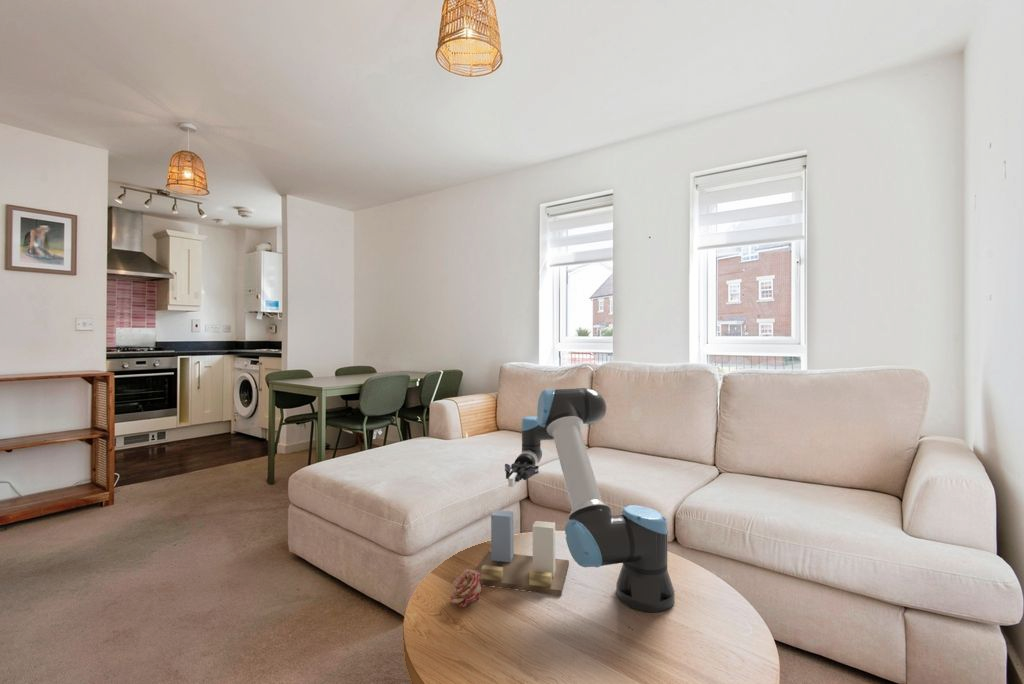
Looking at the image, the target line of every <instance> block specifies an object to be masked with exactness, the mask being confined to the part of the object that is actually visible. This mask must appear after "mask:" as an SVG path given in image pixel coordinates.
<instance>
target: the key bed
mask: <svg viewBox="0 0 1024 684" xmlns="http://www.w3.org/2000/svg"><path fill="white" fill-rule="evenodd" d="M569 566H570V560H569V559H560V558H556V570H555V574H554V577H552V573H548V572H539V571H533V555H526V554H525V555H524V554H517V553H514V557H513V559H512V561H511V563H510V562H501V561H493V560H492V556H491V550H490V551H487V552H486V554H485V555H484V557H483V558H482V560H481V561H480V564H478V566H477V567H476V569H475V571H477V570H478V571H477V572H479V573H480V575H481V576H480V577H481V578H480V582H481V584H482V585H485V586H484V587H490V586H495V587H494V588H497V587H502V588H501V589H505V588H510V589H509V590H513V589H518V590H517V591H521V590H525V591H524V592H528V591H531V593H536V592H537V593H538V594H546V595H554V596H562V594H563V591H564V587H565V582H566V577H567V574H568V571H569ZM482 579H483V581H482Z"/></svg>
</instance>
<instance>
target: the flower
mask: <svg viewBox="0 0 1024 684" xmlns="http://www.w3.org/2000/svg"><path fill="white" fill-rule="evenodd" d="M477 571H478V570H477ZM477 571H476V570H473V569H469V568H465V569H464V570H463V571H462V573H460V574H459V575H457V577H456V578H455V579H453V581H452V582H451V588H452V590H451V594H450V595H449V598H450V602H451V603H452V604H459V603H460V604H459V605H458V607H459V608H460V607H461V608H463V607H465V606H467V605H469V603H470V602H472V601H474V600H476V601H478V600H479V599H480V594H481V591H482V589H483V586H482V584H481V582H480V578H481V577H480V576H481V575H480V573H479V572H477ZM482 581H483V579H482ZM463 601H464V602H463ZM461 602H462V603H461Z"/></svg>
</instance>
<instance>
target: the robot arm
mask: <svg viewBox="0 0 1024 684" xmlns="http://www.w3.org/2000/svg"><path fill="white" fill-rule="evenodd" d="M606 412H607V402H606V401H605V399H604V397H603V396H602V395H601V394H600V393H599V392H598V391H596V390H594V389H592V388H587V387H586V388H585V387H581V388H560V389H559V388H558V389H555V388H552V389H545V390H543V391H541V392H540V394H539V397H538V401H537V410H536V416H534V415H533V416H532V415H530V416H524V417H523V418H522V420H521V429H520V430H521V453H520V454H519V455H518V456H517V457H516V459H515V460H514V462H513V463H511V464H508V463H504V471H505V479H507V482H508V487H509V488H510V487H511V488H513V487H514V486H515V485H516V483H517V482H518V483H519V482H520V481H522V480H523V481H526V480H528V479H530V478H532V477H533V476H535V475H538V474H539V469H540V468H539V465H538V464H539V463H540V462H541V459H542V457H543V451H542V449H541V444H542V443H541V441H551V440H554V443H555V444H554V445H555V447H556V453H557V456H558V459H559V460H558V461H559V463H560V466H561V471H562V476H563V480H564V482H565V486H566V491H567V493H568V498H569V502H570V506H571V511H570V513H569V515H568V521H567V522H566V524H565V527H564V534H565V541H566V545H567V547H568V551H569V553H570V555H571V557H572V559H573V561H575V563H576V564H577V565H578V566H580V567H582V568H600V567H603V566H611V565H617V564H622V565H621V569H620V572H619V574H618V578H617V580H616V583H615V584H616V585H615V587H616V589H615V592H616V593H615V594H616V596H617V598H618V599H619V600H620V602H621V603H623V604H625V605H626V606H627V607H629V608H632V609H634V610H637V611H640V610H641V611H642V612H645V611H646V612H647V613H659V612H665V611H667V610H669V609H670V608H672V607H673V605H675V600H676V599H675V598H676V597H675V588H674V586H673V582H672V579H671V576H670V574H669V570H668V535H669V530H668V529H669V528H668V523H667V522H668V521H667V518H666V516H665V515H664V514H663V513H661V512H660V511H658V510H655V509H653V508H650V507H647V506H643V505H635V504H634V505H633V504H631V505H626V506H624V507H622V510H621V514H618V515H613V513H612V511H611V508H610V506H609V505H608V504H606V503H605V502H603V500H602V497H601V493H600V489H599V487H598V484H597V480H596V476H595V474H594V470H593V466H592V464H591V462H590V458H589V457H590V456H589V455H588V451H587V447H586V445H585V440H584V438H583V434H582V431H581V429H583V428H585V427H586V426H587V425H589V426H590V425H591V426H593V425H595V424H597V423H599V422H600V421H601V420H602V419H604V418H605V415H606ZM641 611H640V612H641ZM646 612H645V613H646Z"/></svg>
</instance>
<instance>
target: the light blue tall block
mask: <svg viewBox="0 0 1024 684" xmlns="http://www.w3.org/2000/svg"><path fill="white" fill-rule="evenodd" d="M490 523H491V524H490V528H491V529H490V534H491V535H490V536H491V537H490V539H491V540H490V541H491V544H490V545H491V547H490V548H491V550H490V552H491V556H492V560H493V561H501V562H510V563H511V561H512V559H513V557H514V554H515V552H514V551H515V550H514V547H515V545H514V512H513V511H508V510H496V509H494V510H493V511H492V513H491V515H490Z"/></svg>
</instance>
